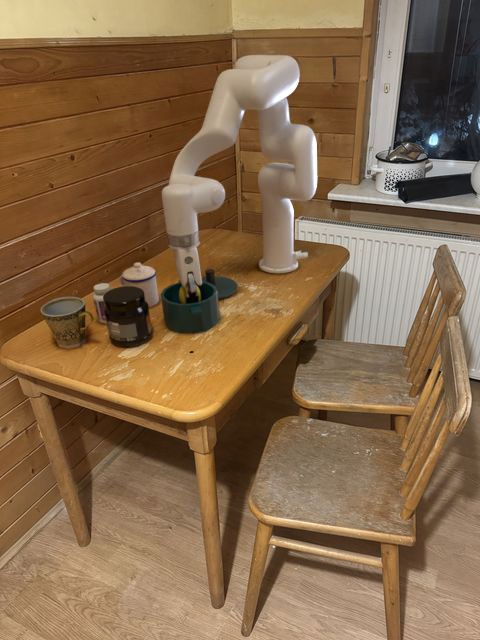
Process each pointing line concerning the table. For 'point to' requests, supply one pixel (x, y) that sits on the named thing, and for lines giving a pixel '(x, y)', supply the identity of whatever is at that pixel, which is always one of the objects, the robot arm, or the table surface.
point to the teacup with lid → (142, 281)
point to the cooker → (190, 309)
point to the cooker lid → (220, 283)
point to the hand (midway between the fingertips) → (191, 304)
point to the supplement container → (127, 316)
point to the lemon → (183, 294)
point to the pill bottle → (100, 300)
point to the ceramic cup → (67, 320)
